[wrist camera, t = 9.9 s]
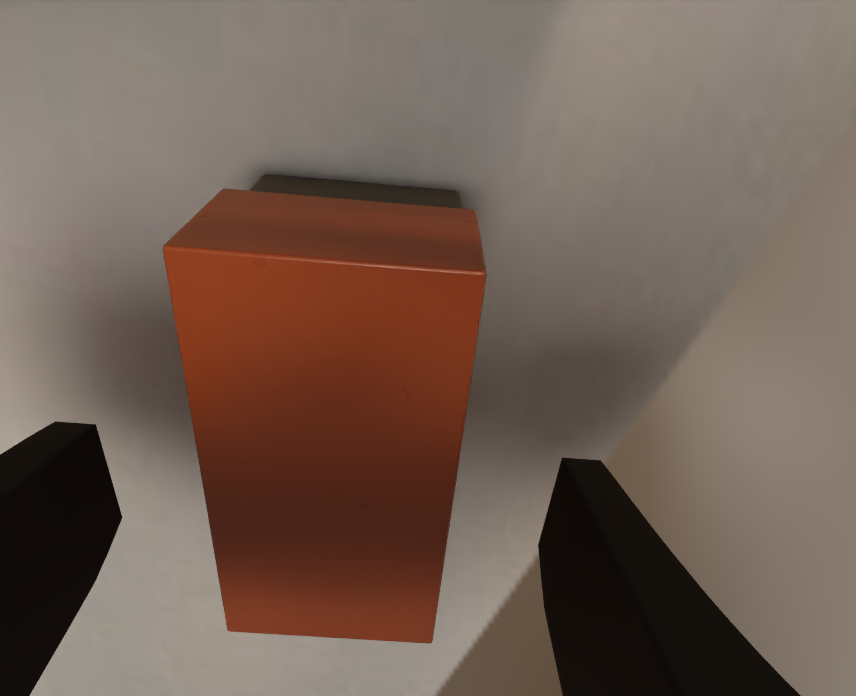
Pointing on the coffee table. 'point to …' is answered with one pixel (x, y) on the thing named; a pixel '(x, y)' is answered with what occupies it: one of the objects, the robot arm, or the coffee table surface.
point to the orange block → (329, 397)
